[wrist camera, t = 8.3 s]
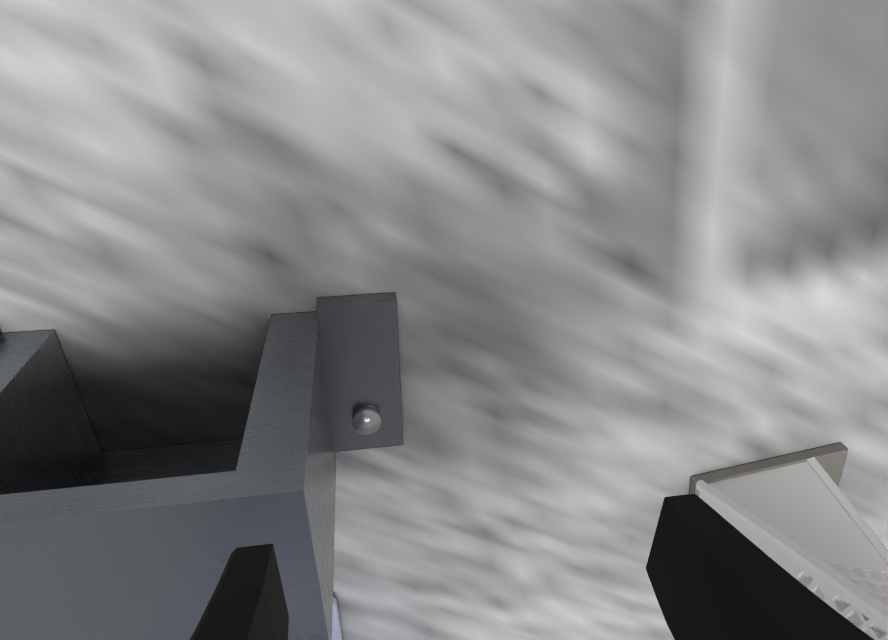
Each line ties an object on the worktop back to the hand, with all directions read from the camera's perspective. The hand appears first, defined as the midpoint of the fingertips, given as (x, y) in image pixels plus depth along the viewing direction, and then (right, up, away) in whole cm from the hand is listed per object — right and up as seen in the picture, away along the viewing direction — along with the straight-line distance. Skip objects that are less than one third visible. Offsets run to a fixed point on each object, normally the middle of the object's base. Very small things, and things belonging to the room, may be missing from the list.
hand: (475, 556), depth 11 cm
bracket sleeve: (-9, +2, +9) cm, 13 cm away
